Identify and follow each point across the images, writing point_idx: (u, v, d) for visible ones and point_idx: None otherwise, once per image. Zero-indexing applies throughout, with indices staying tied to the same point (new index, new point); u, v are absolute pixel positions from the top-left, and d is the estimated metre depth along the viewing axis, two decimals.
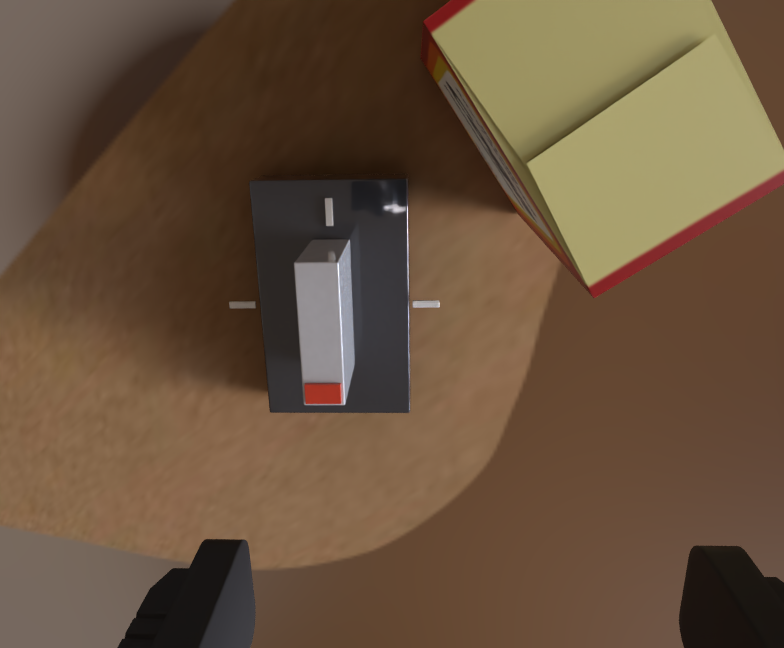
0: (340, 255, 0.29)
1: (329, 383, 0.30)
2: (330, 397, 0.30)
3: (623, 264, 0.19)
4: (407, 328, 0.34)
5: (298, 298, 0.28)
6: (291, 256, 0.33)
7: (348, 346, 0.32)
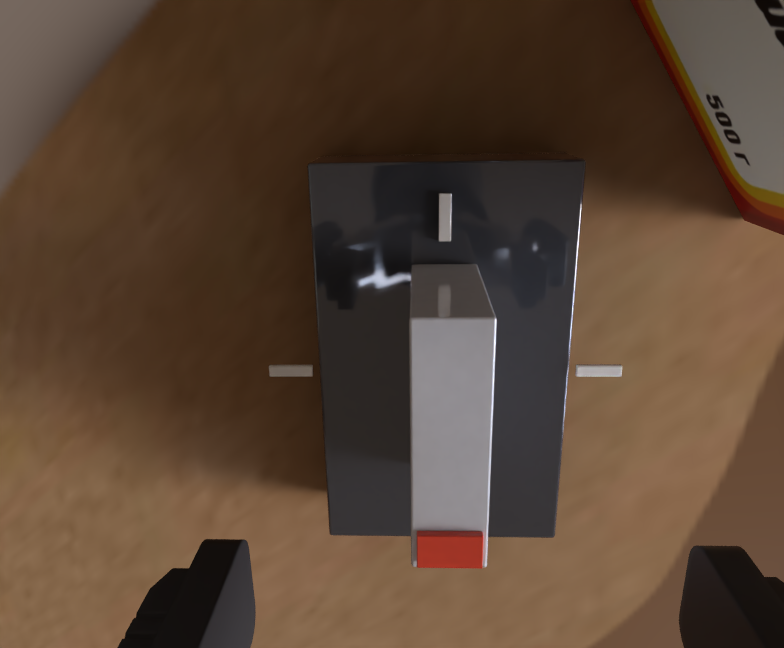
0: (488, 300, 0.16)
1: (461, 531, 0.16)
2: (463, 557, 0.16)
3: None
4: (563, 409, 0.21)
5: (414, 384, 0.15)
6: (375, 291, 0.20)
7: None
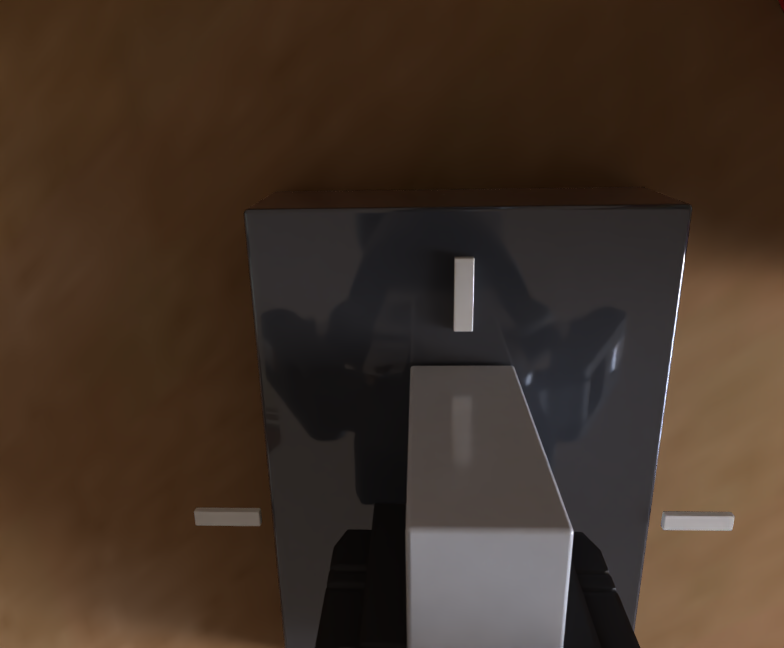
0: (548, 469, 0.09)
1: None
2: None
3: None
4: (639, 573, 0.14)
5: (415, 638, 0.08)
6: (355, 404, 0.13)
7: None
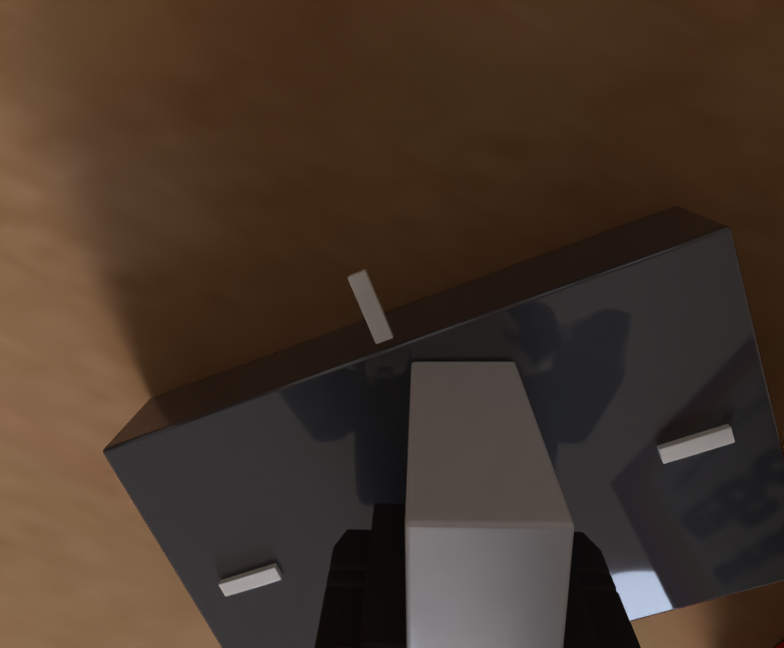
0: (549, 464, 0.09)
1: None
2: None
3: None
4: None
5: (415, 632, 0.08)
6: (550, 388, 0.12)
7: None
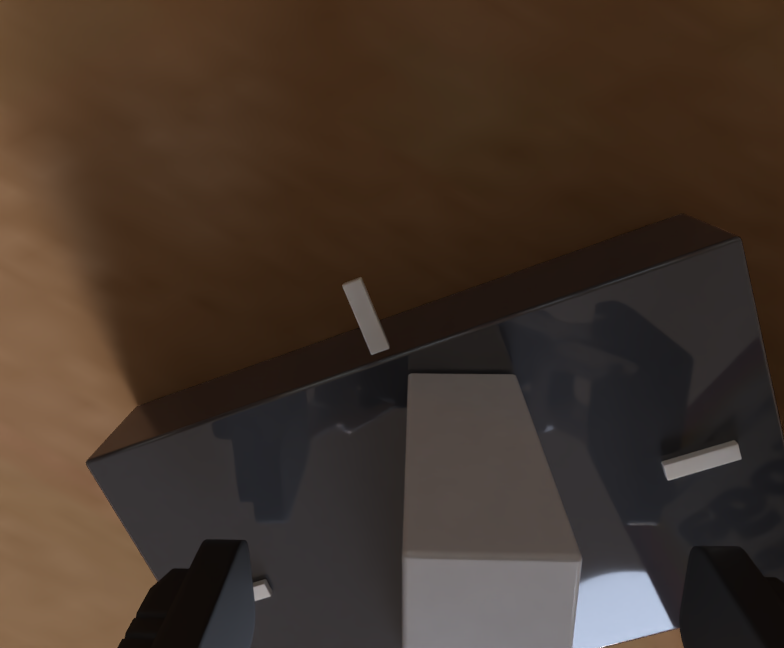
0: (554, 488, 0.08)
1: None
2: None
3: None
4: None
5: None
6: (552, 402, 0.12)
7: None
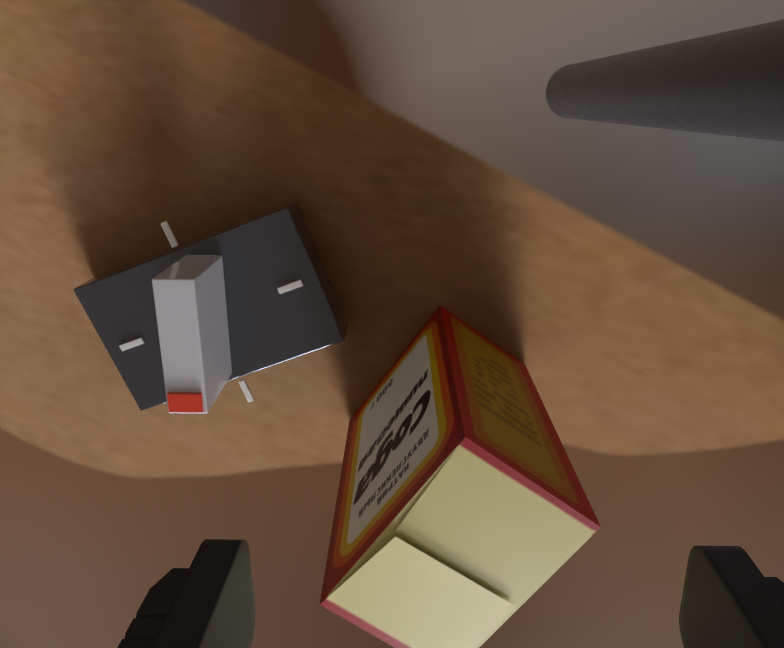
0: (200, 272, 0.31)
1: (190, 392, 0.31)
2: (192, 406, 0.31)
3: (351, 612, 0.26)
4: None
5: (157, 312, 0.30)
6: (236, 265, 0.34)
7: (216, 357, 0.33)
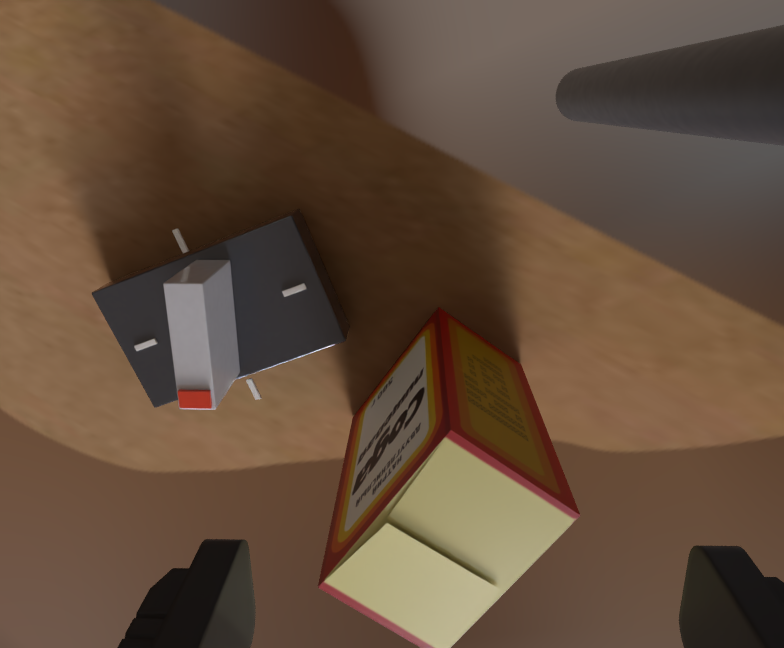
0: (209, 276, 0.33)
1: (200, 389, 0.33)
2: (201, 402, 0.33)
3: (347, 594, 0.27)
4: None
5: (168, 314, 0.32)
6: (243, 269, 0.36)
7: (224, 356, 0.35)
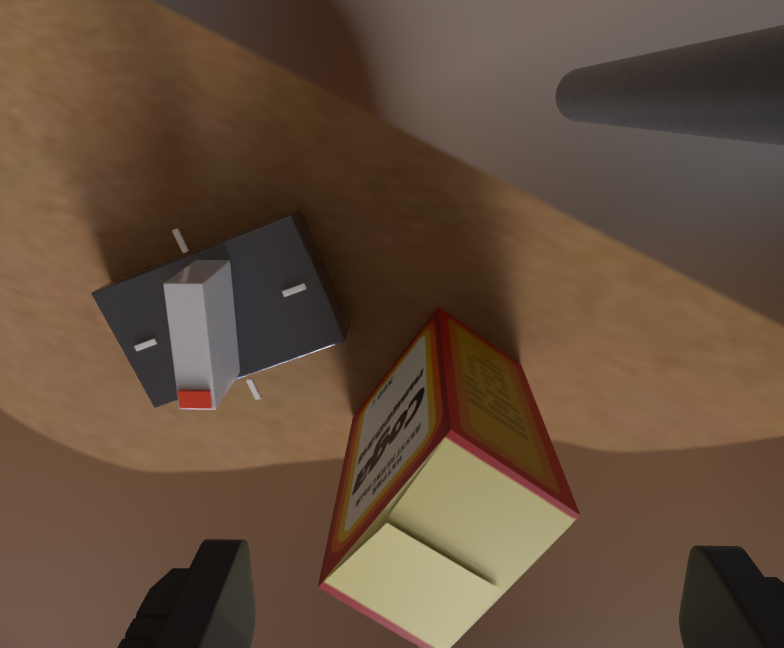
0: (209, 276, 0.33)
1: (200, 389, 0.33)
2: (201, 402, 0.33)
3: (347, 594, 0.27)
4: None
5: (168, 314, 0.32)
6: (243, 269, 0.36)
7: (224, 356, 0.35)
